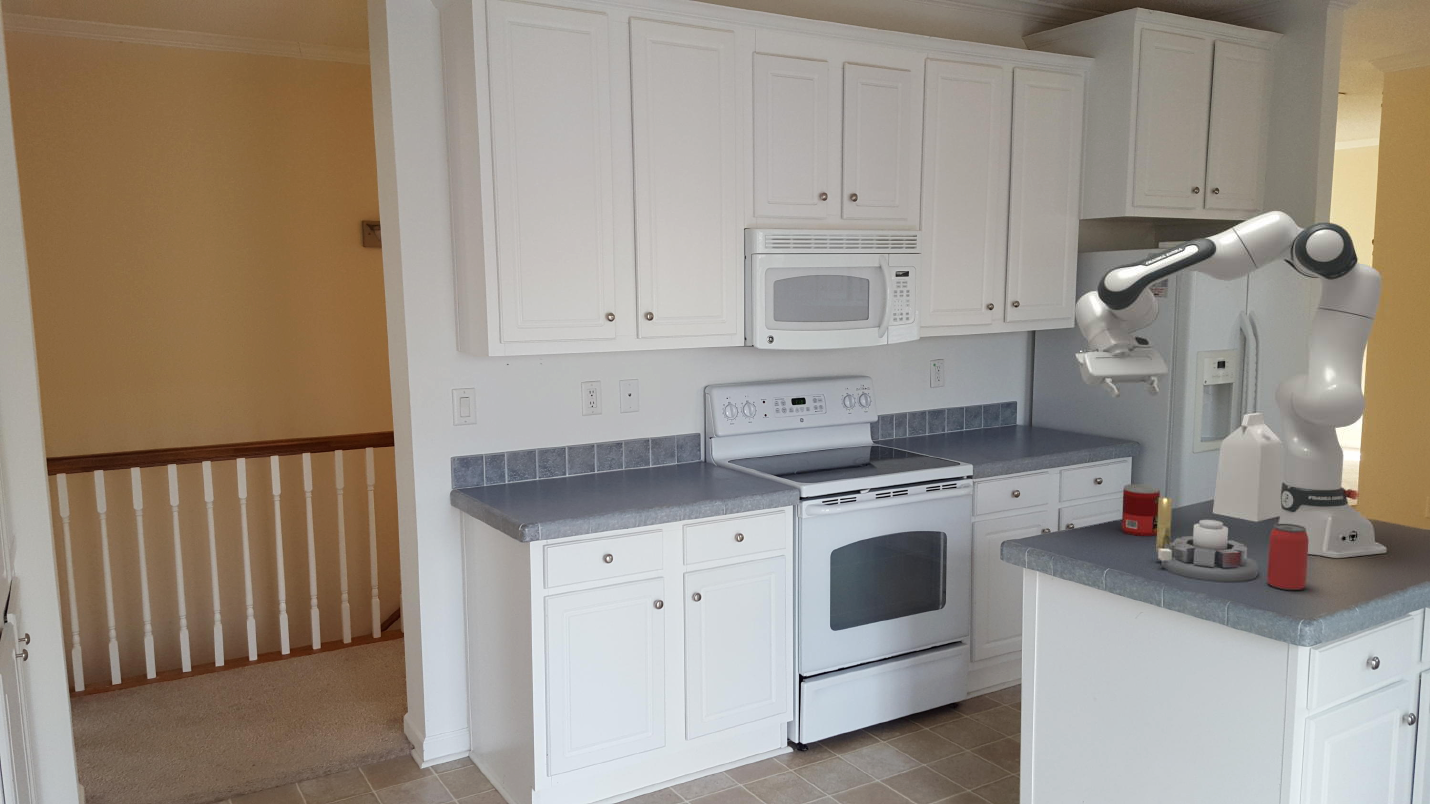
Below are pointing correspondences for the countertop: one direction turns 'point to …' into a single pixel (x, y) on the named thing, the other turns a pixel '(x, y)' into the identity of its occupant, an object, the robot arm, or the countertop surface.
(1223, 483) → the milk
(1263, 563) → the countertop surface
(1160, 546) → the gear with peg
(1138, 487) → the canned food
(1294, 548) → the beer can
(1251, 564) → the flange base
